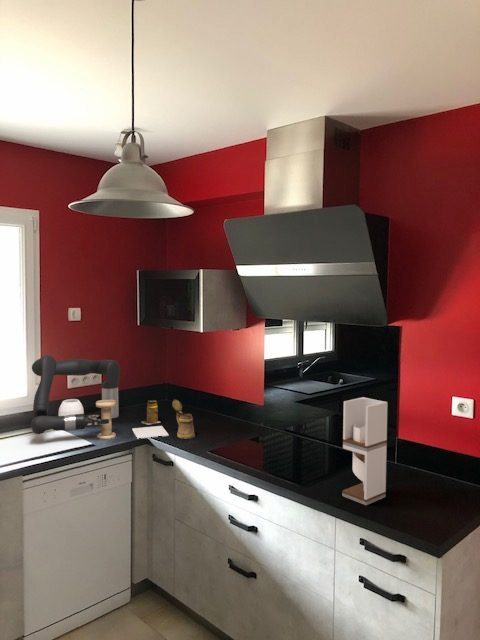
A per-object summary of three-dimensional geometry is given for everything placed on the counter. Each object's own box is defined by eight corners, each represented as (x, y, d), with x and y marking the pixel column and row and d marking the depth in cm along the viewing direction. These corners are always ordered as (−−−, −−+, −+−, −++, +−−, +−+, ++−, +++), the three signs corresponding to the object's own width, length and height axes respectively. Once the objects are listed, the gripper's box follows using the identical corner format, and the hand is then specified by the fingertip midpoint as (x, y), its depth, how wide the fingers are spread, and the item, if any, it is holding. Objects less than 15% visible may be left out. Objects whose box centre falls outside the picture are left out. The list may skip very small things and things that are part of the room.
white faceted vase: (64, 429, 277) (64, 404, 277) (54, 424, 287) (54, 400, 286) (88, 425, 286) (87, 401, 285) (77, 420, 296) (77, 397, 295)
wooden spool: (95, 434, 268) (95, 400, 267) (115, 433, 271) (115, 398, 270) (97, 440, 259) (96, 404, 257) (117, 438, 262) (117, 403, 261)
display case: (361, 488, 199) (363, 397, 196) (385, 497, 190) (387, 402, 188) (342, 495, 191) (343, 401, 189) (366, 505, 183) (367, 406, 181)
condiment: (160, 422, 293) (160, 401, 292) (148, 425, 287) (147, 403, 286) (153, 419, 298) (153, 399, 297) (140, 422, 292) (140, 401, 291)
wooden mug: (180, 431, 275) (180, 397, 274) (198, 436, 266) (198, 401, 265) (167, 434, 268) (167, 400, 267) (185, 440, 259) (185, 404, 258)
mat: (132, 429, 278) (132, 428, 278) (161, 426, 284) (161, 425, 283) (137, 438, 261) (137, 437, 261) (168, 435, 267) (168, 434, 267)
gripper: (74, 418, 252) (109, 415, 258) (73, 411, 266) (106, 408, 271) (75, 433, 253) (109, 430, 258) (74, 425, 266) (106, 422, 272)
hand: (108, 419), depth 265 cm, fingers open, 8 cm apart
